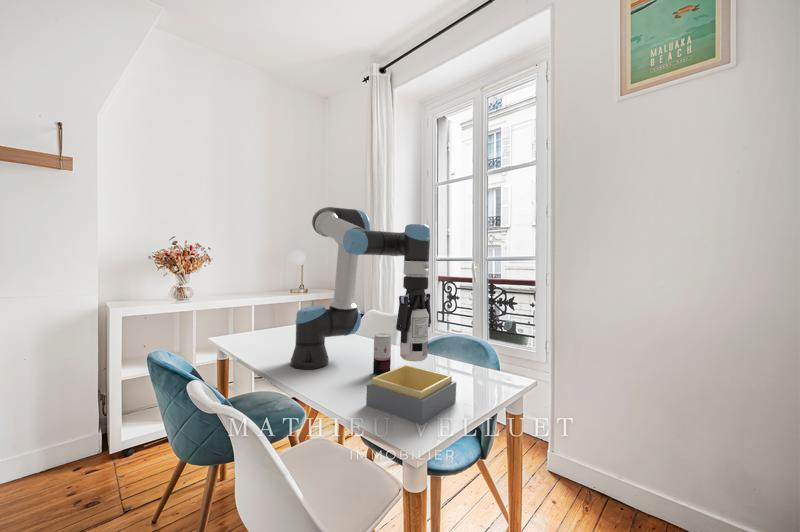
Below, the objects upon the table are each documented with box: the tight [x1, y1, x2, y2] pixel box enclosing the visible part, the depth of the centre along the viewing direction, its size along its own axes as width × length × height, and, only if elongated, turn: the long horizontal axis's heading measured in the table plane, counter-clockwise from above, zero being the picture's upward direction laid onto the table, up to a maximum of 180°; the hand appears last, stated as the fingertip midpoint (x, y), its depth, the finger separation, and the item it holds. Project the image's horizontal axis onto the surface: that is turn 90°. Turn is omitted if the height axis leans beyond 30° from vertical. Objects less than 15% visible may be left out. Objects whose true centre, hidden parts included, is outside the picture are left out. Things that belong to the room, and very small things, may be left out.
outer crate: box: [365, 380, 457, 425], centre depth 108 cm, size 20×20×7 cm
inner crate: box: [371, 364, 453, 400], centre depth 108 cm, size 17×17×8 cm
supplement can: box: [399, 308, 429, 362], centre depth 108 cm, size 8×8×15 cm
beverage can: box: [372, 332, 392, 377], centre depth 137 cm, size 6×7×15 cm
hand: (413, 350), depth 108 cm, fingers closed on supplement can, 8 cm apart
